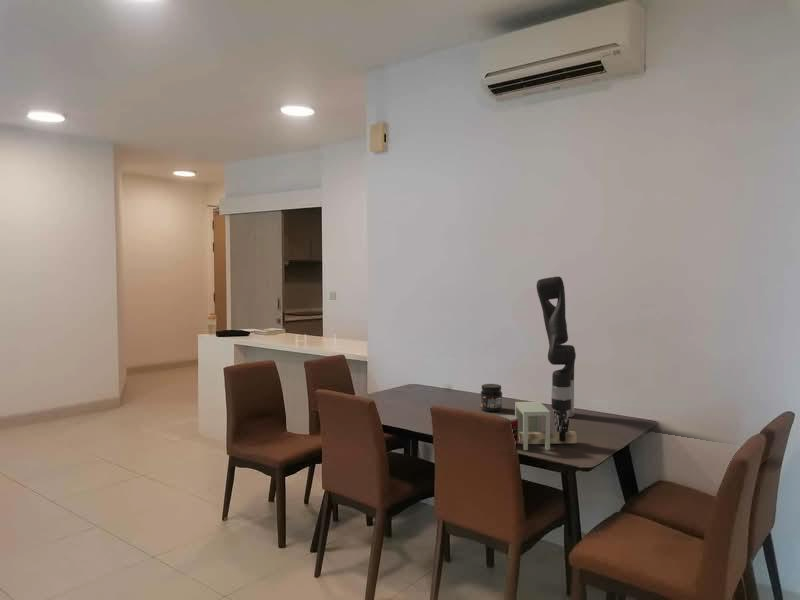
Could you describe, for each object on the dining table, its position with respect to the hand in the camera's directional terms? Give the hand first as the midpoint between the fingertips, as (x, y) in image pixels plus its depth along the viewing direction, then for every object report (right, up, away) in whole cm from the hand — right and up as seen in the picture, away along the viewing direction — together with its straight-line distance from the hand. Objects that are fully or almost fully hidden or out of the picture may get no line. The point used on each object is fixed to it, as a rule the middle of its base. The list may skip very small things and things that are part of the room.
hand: (561, 439), depth 230 cm
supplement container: (-19, +1, +54) cm, 57 cm away
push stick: (-5, -1, 0) cm, 6 cm away
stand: (-12, -2, 0) cm, 12 cm away
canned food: (-21, -2, 0) cm, 21 cm away
